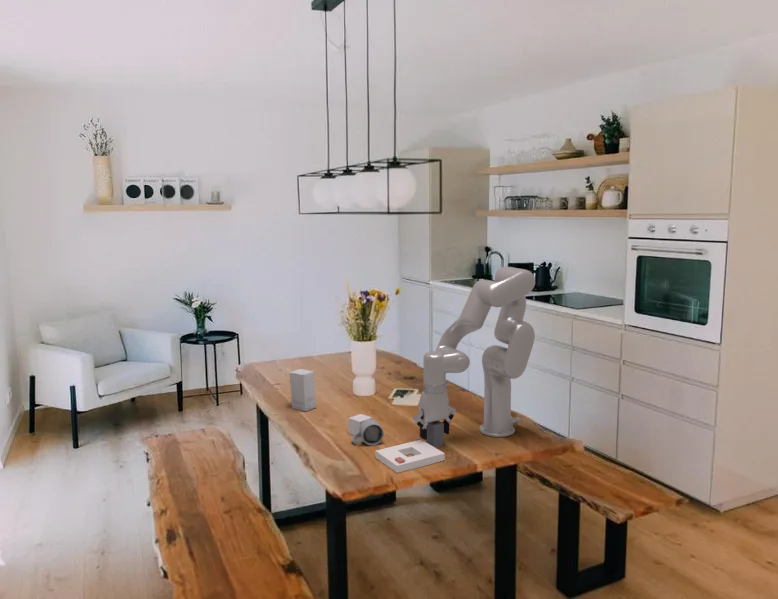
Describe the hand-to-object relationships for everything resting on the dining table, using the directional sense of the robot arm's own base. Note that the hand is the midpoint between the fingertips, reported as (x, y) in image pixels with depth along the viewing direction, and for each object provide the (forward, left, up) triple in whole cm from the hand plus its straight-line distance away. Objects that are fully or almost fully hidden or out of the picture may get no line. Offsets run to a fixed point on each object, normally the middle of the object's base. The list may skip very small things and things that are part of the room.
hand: (434, 435), depth 220 cm
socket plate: (+14, +6, -3) cm, 16 cm away
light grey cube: (+17, -23, -3) cm, 29 cm away
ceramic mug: (+19, -14, -3) cm, 24 cm away
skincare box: (+24, -60, -3) cm, 65 cm away
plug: (0, 0, -3) cm, 3 cm away
